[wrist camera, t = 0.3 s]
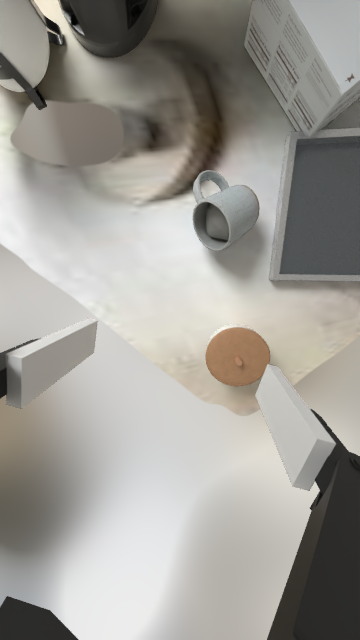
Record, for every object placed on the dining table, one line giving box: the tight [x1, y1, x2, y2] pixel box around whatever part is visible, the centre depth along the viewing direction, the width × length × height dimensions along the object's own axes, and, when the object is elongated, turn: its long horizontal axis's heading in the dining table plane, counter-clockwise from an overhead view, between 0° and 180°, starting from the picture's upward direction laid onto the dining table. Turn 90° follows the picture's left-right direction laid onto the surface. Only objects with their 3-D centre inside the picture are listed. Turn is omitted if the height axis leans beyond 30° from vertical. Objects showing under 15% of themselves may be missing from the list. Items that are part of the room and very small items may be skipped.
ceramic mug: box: [193, 170, 259, 251], centre depth 30 cm, size 11×8×8 cm
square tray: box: [269, 128, 360, 281], centre depth 33 cm, size 22×22×2 cm
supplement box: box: [244, 0, 360, 137], centre depth 25 cm, size 17×13×9 cm
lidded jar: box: [206, 324, 270, 386], centre depth 37 cm, size 11×11×9 cm
